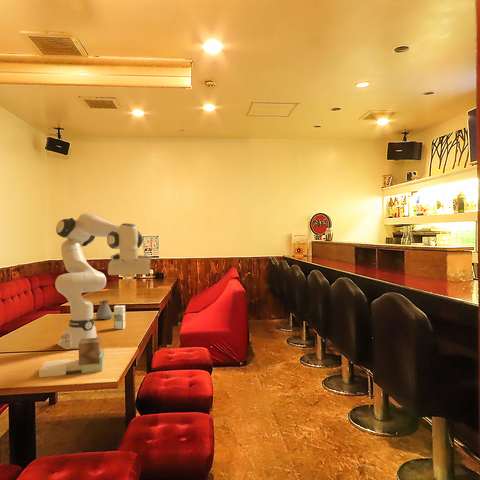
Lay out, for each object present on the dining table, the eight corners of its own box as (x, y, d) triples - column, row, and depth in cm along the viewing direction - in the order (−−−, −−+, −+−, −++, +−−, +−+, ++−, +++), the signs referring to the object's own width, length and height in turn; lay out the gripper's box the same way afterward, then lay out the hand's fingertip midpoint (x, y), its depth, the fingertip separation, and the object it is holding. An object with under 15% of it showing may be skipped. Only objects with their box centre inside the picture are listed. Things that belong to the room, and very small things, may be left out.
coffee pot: (96, 318, 269) (96, 297, 269) (113, 316, 273) (112, 296, 273) (94, 324, 249) (94, 301, 249) (112, 322, 252) (112, 300, 252)
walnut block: (78, 364, 156) (78, 343, 156) (81, 359, 164) (81, 338, 164) (98, 363, 158) (98, 342, 158) (100, 357, 166) (100, 337, 166)
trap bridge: (39, 377, 150) (39, 362, 150) (46, 367, 162) (45, 354, 162) (101, 371, 157) (101, 356, 157) (104, 362, 168) (103, 349, 168)
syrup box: (125, 327, 238) (125, 304, 238) (123, 329, 232) (122, 306, 232) (116, 327, 238) (116, 305, 238) (113, 329, 232) (113, 306, 232)
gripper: (150, 255, 190) (150, 281, 190) (108, 256, 184) (108, 283, 184) (150, 255, 184) (151, 283, 184) (107, 256, 178) (107, 285, 178)
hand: (129, 283), depth 184 cm, fingers closed
